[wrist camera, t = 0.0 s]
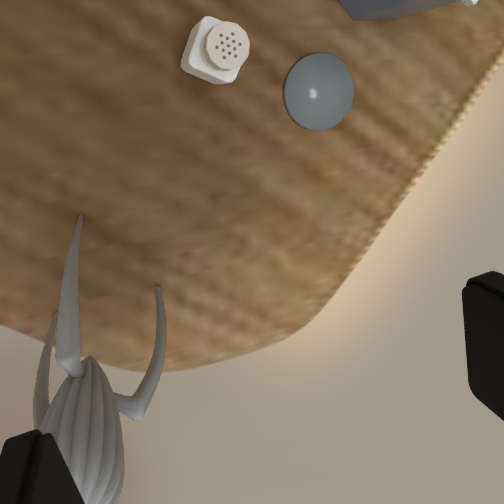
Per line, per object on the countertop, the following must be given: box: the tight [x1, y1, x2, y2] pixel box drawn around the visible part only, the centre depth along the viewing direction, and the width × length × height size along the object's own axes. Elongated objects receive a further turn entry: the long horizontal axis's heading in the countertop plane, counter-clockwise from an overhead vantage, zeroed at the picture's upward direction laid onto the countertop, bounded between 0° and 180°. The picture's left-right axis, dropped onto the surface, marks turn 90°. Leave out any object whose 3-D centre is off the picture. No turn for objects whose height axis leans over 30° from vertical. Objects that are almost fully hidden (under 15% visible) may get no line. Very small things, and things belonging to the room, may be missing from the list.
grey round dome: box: [283, 53, 354, 130], centre depth 46 cm, size 7×7×1 cm
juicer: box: [33, 215, 166, 504], centre depth 32 cm, size 10×9×30 cm
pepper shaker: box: [181, 16, 250, 84], centre depth 39 cm, size 4×4×10 cm
